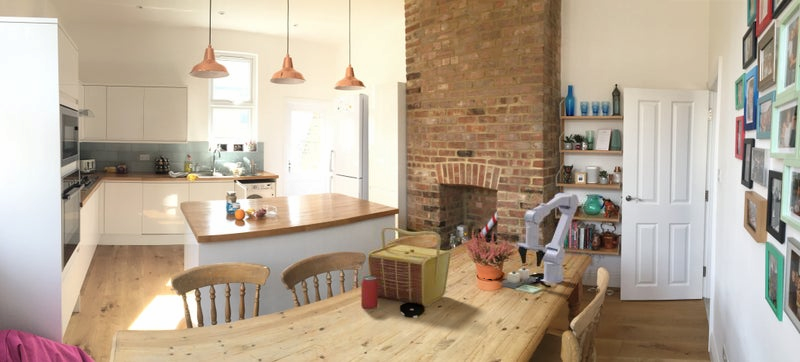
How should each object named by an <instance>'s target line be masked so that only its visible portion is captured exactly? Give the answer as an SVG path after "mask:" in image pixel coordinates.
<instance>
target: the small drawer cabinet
mask: <svg viewBox="0 0 800 362" xmlns="http://www.w3.org/2000/svg"><path fill="white" fill-rule="evenodd" d="M501 281H502V286H501V287H505V288H509V289H514V290H516V288H518V287H520V286H523V285H531V284H534V283H536V281H537V278H536V277H534V276H530V275H529V279H527V280H524V279H522V278H520V282H519V283H516V284H515V283H510V282H508V278H507V279H504V280H501Z"/></svg>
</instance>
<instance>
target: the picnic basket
mask: <svg viewBox="0 0 800 362" xmlns="http://www.w3.org/2000/svg"><path fill="white" fill-rule="evenodd" d="M386 230H393V231H396V232H398V233H399V234H402V235H406V236H413V237H416V236H423V235H425V234H426V235H433V236H434V235H435V236H436V239H437V244H436V249H435V248H428V247H420V246H413V245H407V244H401V243H400V244H399V243H392V244H390V245H386V240H385V236H386V235H385V232H386ZM380 234H381V247H380V248H378V249H375V250H372V251H370V252H369V253H368V255H367V266H368V270H369V272H368V273H369V276H373V277H376V280H377V283H378V294H377V297H382V298H387V299H390V300H391V299H392V300H396V301H401V302H402V301H403V302H406V303H410V304H411V303H412V304H416V303H417V305H422V306H424V307H428V306H430V305H432V304H434V303H436V302H437V301H438V300H441V299H442V298H443V296H444V295H445V293H446V289H447V282H448V274H449V268H450V262H451V251H450V250H441V240H442V238H441V235H440V234H439V233H438V232H435V231H425V230H424V231H408V230H404V229H401V228H398V227H393V226H385V227H383V228H382V229H381V233H380Z"/></svg>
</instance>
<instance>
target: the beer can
mask: <svg viewBox="0 0 800 362" xmlns="http://www.w3.org/2000/svg"><path fill="white" fill-rule="evenodd" d="M360 290H361V297H360V298H361V300H360V302H361V307H362V308H364V309H367V310H371V309H375V308H377V307H378V296H377V294H378V283H377V280H376V277H373V276H370V275H367V276H364V277H362V280H361V289H360Z"/></svg>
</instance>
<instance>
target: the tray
mask: <svg viewBox="0 0 800 362" xmlns="http://www.w3.org/2000/svg"><path fill="white" fill-rule="evenodd" d="M542 290H543V288H542V287H537V286H533V285H530V284H528V285H523V286H520V287H518V288H516V289H515V291H519V292H523V293H527V294H531V295H533V294H535V293H538V292H541V291H542Z"/></svg>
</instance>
